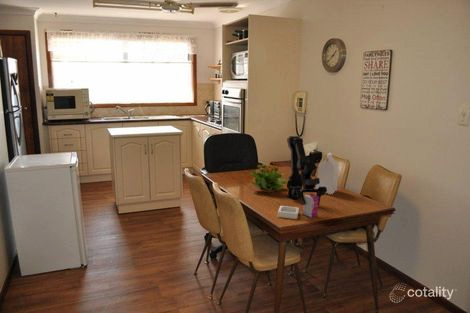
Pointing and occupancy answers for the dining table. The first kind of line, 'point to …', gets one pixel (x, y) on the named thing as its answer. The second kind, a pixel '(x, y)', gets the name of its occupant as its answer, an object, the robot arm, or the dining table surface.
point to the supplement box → (310, 205)
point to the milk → (328, 174)
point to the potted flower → (268, 179)
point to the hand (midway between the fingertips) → (311, 204)
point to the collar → (288, 212)
